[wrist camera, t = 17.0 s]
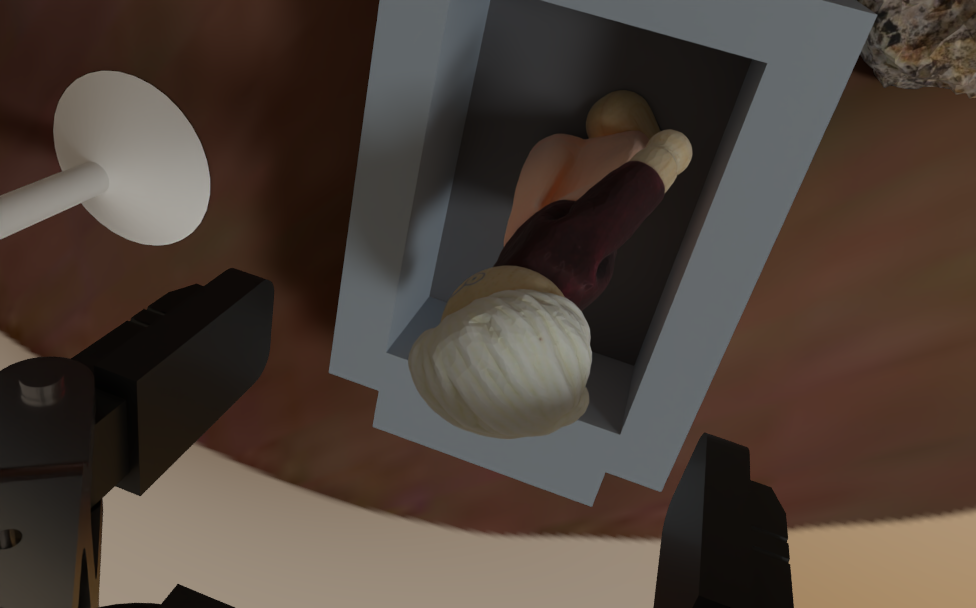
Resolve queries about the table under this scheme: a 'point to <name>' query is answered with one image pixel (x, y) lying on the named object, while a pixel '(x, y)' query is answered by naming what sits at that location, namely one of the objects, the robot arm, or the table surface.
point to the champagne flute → (119, 163)
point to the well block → (563, 110)
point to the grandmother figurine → (548, 277)
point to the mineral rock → (923, 44)
